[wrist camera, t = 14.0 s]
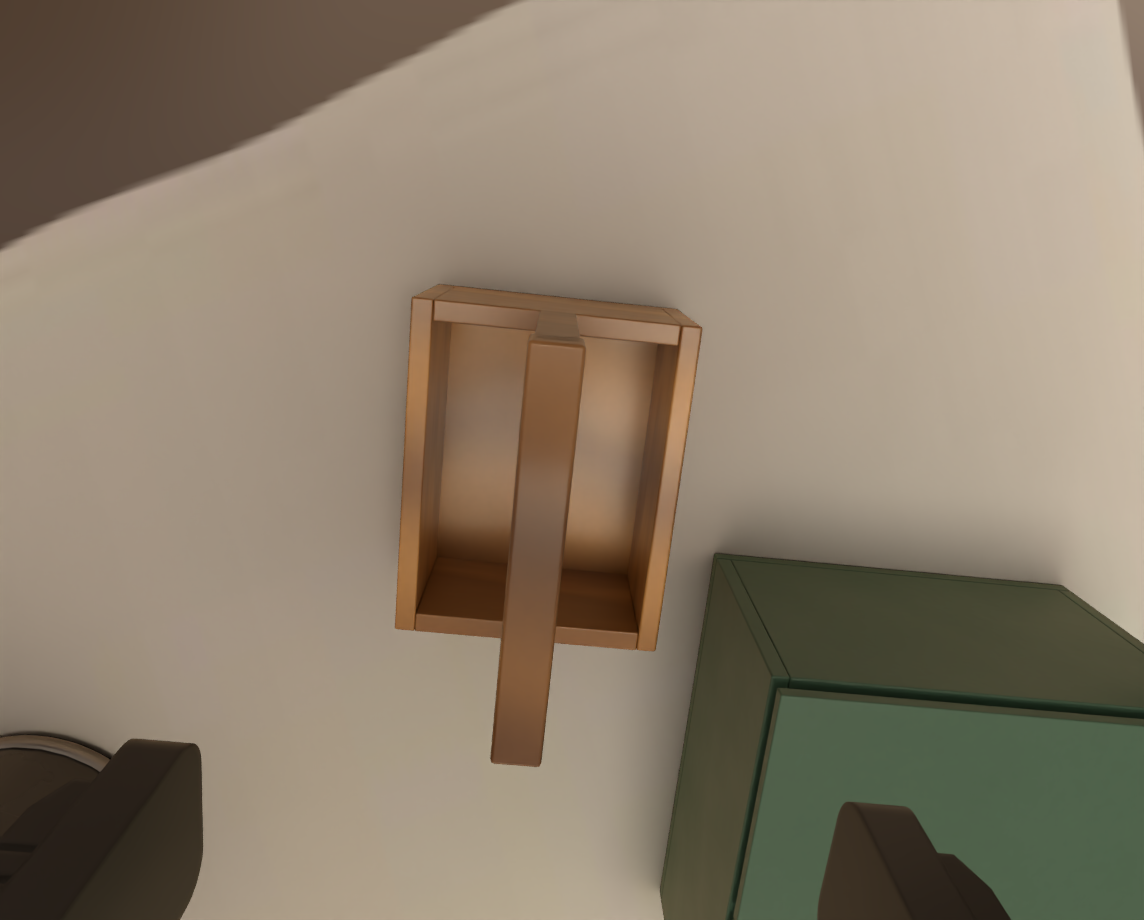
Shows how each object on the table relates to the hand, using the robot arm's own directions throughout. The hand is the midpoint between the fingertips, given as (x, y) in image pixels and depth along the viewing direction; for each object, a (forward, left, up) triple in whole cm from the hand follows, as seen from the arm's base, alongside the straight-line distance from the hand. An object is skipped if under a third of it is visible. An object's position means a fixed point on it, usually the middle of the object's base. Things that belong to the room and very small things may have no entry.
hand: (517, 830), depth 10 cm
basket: (0, 0, -19) cm, 19 cm away
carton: (+13, -11, -19) cm, 26 cm away
